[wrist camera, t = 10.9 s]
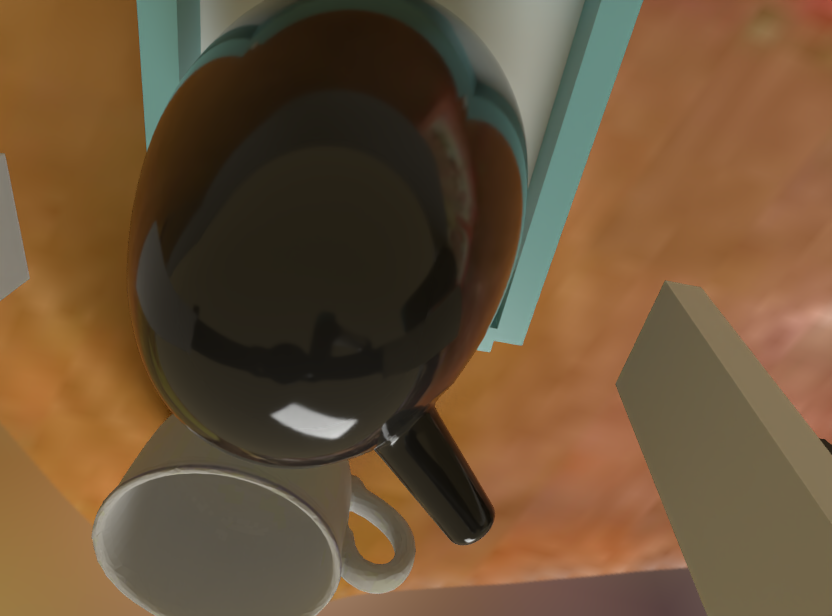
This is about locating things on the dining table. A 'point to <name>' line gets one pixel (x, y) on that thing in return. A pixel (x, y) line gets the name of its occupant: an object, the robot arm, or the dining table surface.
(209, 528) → the teacup
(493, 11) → the dock
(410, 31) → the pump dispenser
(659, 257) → the dining table surface
